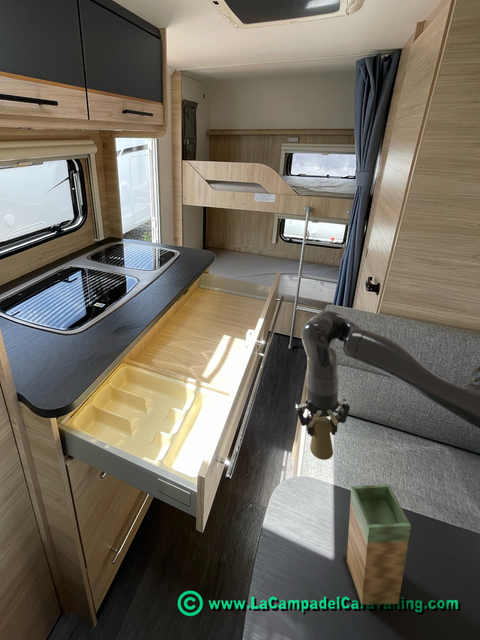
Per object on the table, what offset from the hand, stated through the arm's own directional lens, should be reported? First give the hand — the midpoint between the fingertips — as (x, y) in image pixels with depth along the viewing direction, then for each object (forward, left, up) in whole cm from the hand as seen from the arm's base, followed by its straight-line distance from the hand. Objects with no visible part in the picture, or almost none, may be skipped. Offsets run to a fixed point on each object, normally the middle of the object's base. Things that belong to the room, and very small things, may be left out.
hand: (321, 432), depth 88 cm
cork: (0, 0, -7) cm, 7 cm away
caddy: (-16, +10, -31) cm, 37 cm away
